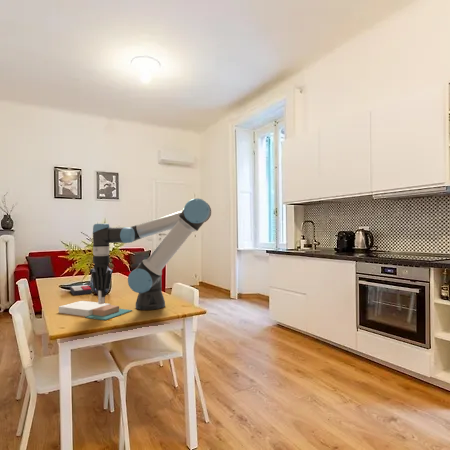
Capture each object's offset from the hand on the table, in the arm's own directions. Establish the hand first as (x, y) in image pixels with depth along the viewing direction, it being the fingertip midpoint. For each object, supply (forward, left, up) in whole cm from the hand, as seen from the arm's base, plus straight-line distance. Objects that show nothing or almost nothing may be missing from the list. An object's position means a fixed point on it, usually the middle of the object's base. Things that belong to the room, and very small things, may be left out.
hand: (101, 303), depth 159 cm
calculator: (-35, -52, -5) cm, 63 cm away
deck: (0, -11, -5) cm, 12 cm away
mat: (0, +5, -5) cm, 7 cm away
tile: (0, +3, -4) cm, 5 cm away
